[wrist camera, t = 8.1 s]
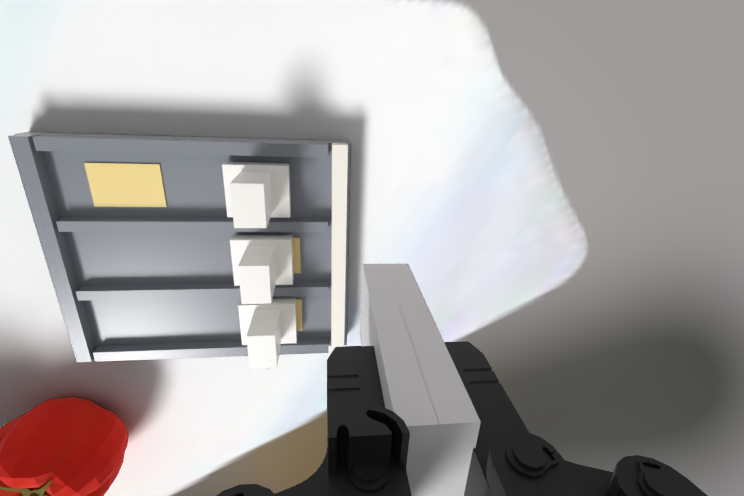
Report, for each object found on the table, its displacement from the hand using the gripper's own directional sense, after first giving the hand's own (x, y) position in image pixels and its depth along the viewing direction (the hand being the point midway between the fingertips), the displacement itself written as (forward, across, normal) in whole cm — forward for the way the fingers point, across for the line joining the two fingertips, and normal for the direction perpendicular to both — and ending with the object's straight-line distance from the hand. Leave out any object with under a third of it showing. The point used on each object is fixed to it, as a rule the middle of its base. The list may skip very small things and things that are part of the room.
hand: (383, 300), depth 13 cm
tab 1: (+15, -6, 0) cm, 16 cm away
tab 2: (+15, -6, -5) cm, 17 cm away
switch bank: (+16, -10, -5) cm, 20 cm away
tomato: (+16, -22, -21) cm, 35 cm away
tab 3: (+15, -6, -10) cm, 19 cm away
